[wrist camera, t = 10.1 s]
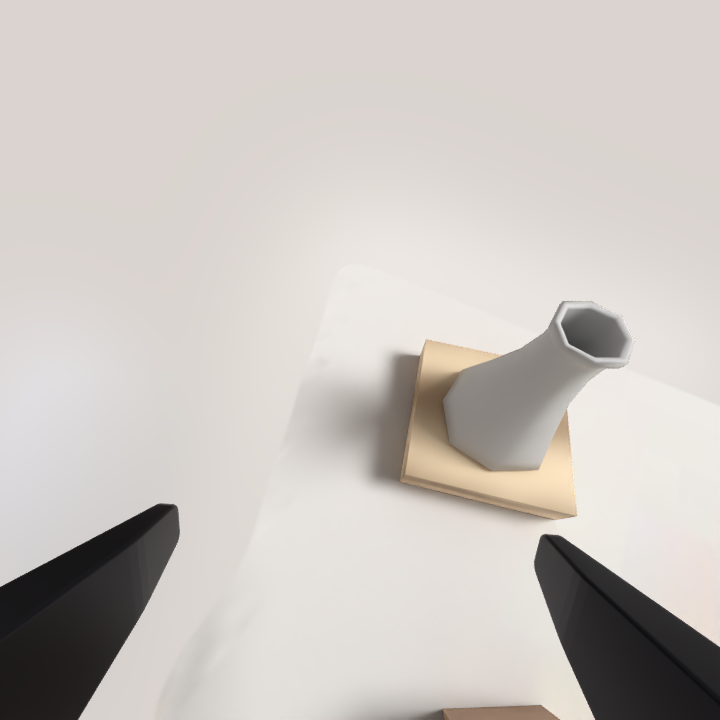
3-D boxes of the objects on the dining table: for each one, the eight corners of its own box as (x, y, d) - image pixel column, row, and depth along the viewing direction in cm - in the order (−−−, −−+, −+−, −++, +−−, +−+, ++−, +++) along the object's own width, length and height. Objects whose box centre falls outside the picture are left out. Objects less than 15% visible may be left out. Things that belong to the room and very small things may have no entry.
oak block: (549, 520, 22) (577, 516, 19) (398, 483, 23) (405, 474, 20) (542, 386, 27) (563, 368, 24) (418, 359, 28) (426, 339, 25)
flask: (449, 357, 24) (509, 249, 16) (551, 386, 23) (674, 288, 15) (431, 454, 21) (496, 382, 12) (550, 490, 20) (711, 442, 11)
